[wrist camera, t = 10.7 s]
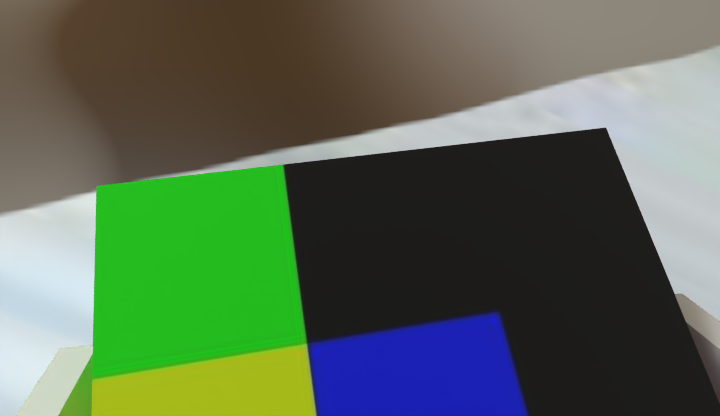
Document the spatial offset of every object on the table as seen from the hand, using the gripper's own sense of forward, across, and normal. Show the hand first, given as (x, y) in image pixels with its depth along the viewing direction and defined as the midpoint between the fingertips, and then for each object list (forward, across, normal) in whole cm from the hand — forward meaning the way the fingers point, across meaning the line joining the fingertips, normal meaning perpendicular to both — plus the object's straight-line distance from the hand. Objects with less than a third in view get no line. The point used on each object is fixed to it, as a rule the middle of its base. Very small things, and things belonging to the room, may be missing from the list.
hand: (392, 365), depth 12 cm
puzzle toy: (+4, 0, -5) cm, 6 cm away
